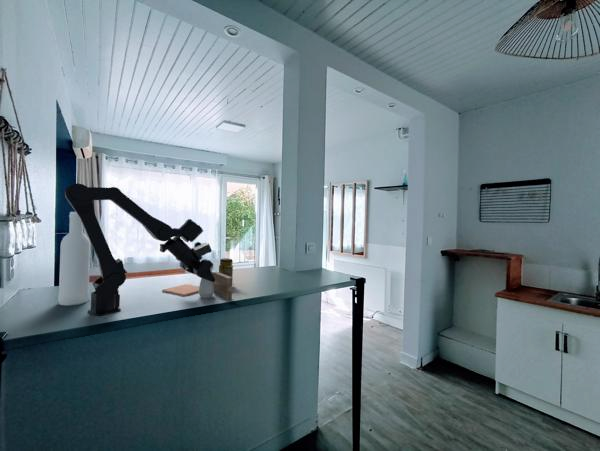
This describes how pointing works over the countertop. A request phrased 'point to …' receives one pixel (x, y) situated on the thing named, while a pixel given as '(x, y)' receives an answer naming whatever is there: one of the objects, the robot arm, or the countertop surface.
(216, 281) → the walnut backboard
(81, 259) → the bottle
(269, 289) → the countertop surface
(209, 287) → the salt shaker
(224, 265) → the condiment
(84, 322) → the countertop surface
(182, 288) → the terracotta mat
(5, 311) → the countertop surface
